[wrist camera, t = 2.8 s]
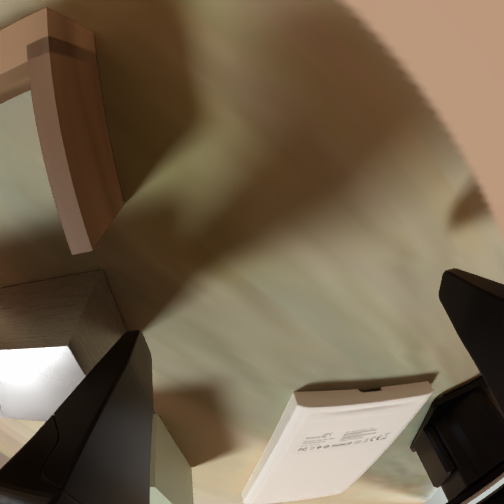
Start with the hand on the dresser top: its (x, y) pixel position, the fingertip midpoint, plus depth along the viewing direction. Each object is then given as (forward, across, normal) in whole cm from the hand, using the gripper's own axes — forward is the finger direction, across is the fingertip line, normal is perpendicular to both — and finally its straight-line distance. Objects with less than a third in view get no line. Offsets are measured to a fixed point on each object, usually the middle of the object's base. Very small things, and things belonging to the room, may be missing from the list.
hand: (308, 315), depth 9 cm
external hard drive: (+3, -2, +13) cm, 14 cm away
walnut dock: (+2, +9, -5) cm, 11 cm away
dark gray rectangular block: (+2, +9, 0) cm, 9 cm away
